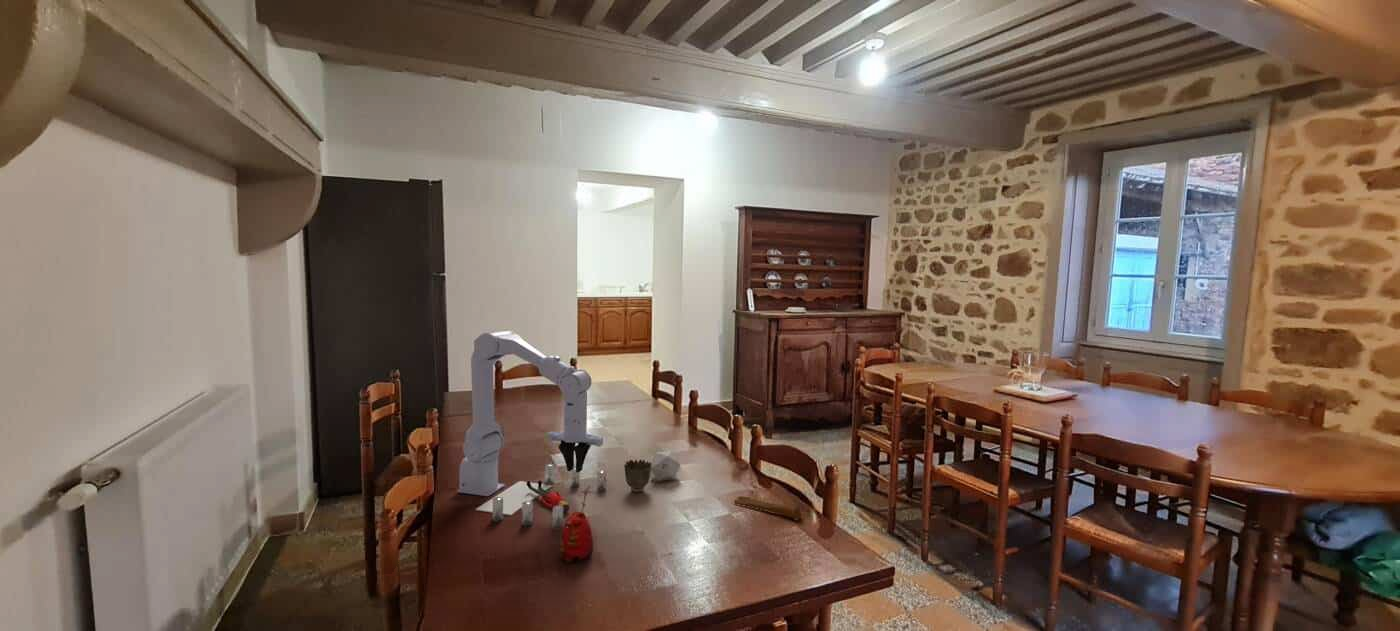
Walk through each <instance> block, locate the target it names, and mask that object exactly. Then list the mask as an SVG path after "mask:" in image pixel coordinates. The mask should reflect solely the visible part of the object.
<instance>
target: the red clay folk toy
mask: <svg viewBox="0 0 1400 631" xmlns="http://www.w3.org/2000/svg"><path fill="white" fill-rule="evenodd" d="M590 487H591V486H590V485H588V486H587V488H585V489H584V491H583V490H582V491H581V493H583V495H584V496H583V502H581V505H582V507H581V511H580V512H578V511H575V512H573V513H572V514H571V515H569V516H568V517H567V518H566V520H565V523H564V524H563V526H562V529H561V535H560V538H559V550H560V551H559V553H560V558H561V560H563V561H564V562H566V563H568V564H571V563H573V562H580V561H581V562H582V561H583V560H585V559H586V558H588V557H589V556H590V555H591V554H592V553H593V550H594V549H593V547H594V539H593V535H592V528H591V525H590V522H589V520H588V518H587V516H586V514H585V513H584V512H583V511H584V508H585V507H586V503H585V502H586V497H587V494H588V493H591V492H592V491H591V490H590V491H588V490H589V489H590Z"/></svg>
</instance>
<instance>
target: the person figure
mask: <svg viewBox="0 0 1400 631" xmlns="http://www.w3.org/2000/svg"><path fill="white" fill-rule="evenodd" d="M526 482H527V486H528V488H529V489H530V490H532V491H534V492H535V493H537V494H539V496H538V498H539V499H538V500H540V502H541V503H542V504H543V505H544V506H545V507H548V508H551V509H553V507H554V506H557V505H561V506H563V514H566V513H568V512H569V511H570V505H569V503H568V502H566V500H565V499H564V498H563V497H562V496H561V494H560V493H559V491H558V490H557V489H555V488H553V492H552V491H550V490H544V489H543V488H542V487H541V484H543V482H542V480H538V482H537V483H538V490H537V489H535V488H533V487H532V486H531V483H532V482H531V481H529V480H528V481H526ZM555 493H556V494H555ZM548 502H550V503H548Z"/></svg>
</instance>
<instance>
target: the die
mask: <svg viewBox="0 0 1400 631" xmlns="http://www.w3.org/2000/svg"><path fill="white" fill-rule="evenodd" d="M650 462H651V474H652V475H653V476H654V478H655V479H656V481H657V482H662V481H664V482H665V481H673V480H675V479H676V476H677V474H678V471H679V470H680V467H681V462H680V461H679V459H678V458H677V457H676V455H675V453H674V452H673V450H667V451H665V450H664V451H657V452H656V451H655V452H654V455H653V456H652V459H651V461H650Z"/></svg>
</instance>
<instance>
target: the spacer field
mask: <svg viewBox="0 0 1400 631" xmlns="http://www.w3.org/2000/svg"><path fill="white" fill-rule="evenodd" d="M544 466H545V467H544V469H545V471H544V472H545V474H544V478H545V479H544V483H545V485H551V484H554V483H555V464H554V463H547V464H545V465H544ZM580 474H581V471H580V472H576V466H574V468H573V469H572V470H571V471H570V486H571V488H579V487H581V486H580V485H581V484H580V478H581V476H580ZM596 477H597V482H596V483H597V484H596V490H597V491H598V492H604V491H606V490H607V470H604V469H601V470H598V471H597V476H596ZM494 497H495V498H494ZM494 497H492V498H493V513H492V520H493V521H494V522H500V521H502V520H504V515H503V497H496V496H494ZM533 504H534V502H533V500H532V501H525V502H523V503H522V508H521V509H522V512H521V517H522V520H521V524H522V526H532V524H533V522H534V519H533V518H534V517H533V516H534V509H533V508H534V505H533ZM563 525H564V513H563V506H561V505H557V506H554V507H553V508H552V530H553V531H562V526H563Z"/></svg>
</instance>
